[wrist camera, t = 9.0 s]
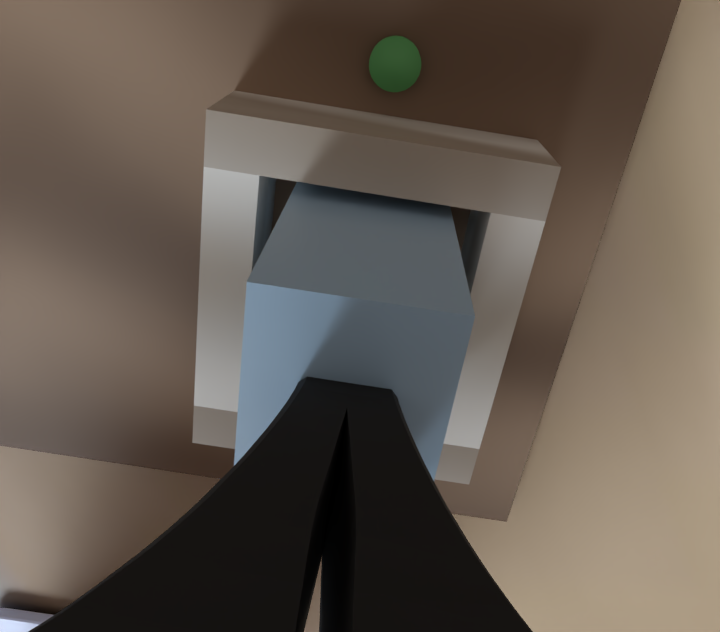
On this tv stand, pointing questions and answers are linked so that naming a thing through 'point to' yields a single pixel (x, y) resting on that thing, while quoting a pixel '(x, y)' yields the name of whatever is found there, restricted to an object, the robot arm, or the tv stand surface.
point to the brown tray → (273, 188)
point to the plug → (357, 309)
